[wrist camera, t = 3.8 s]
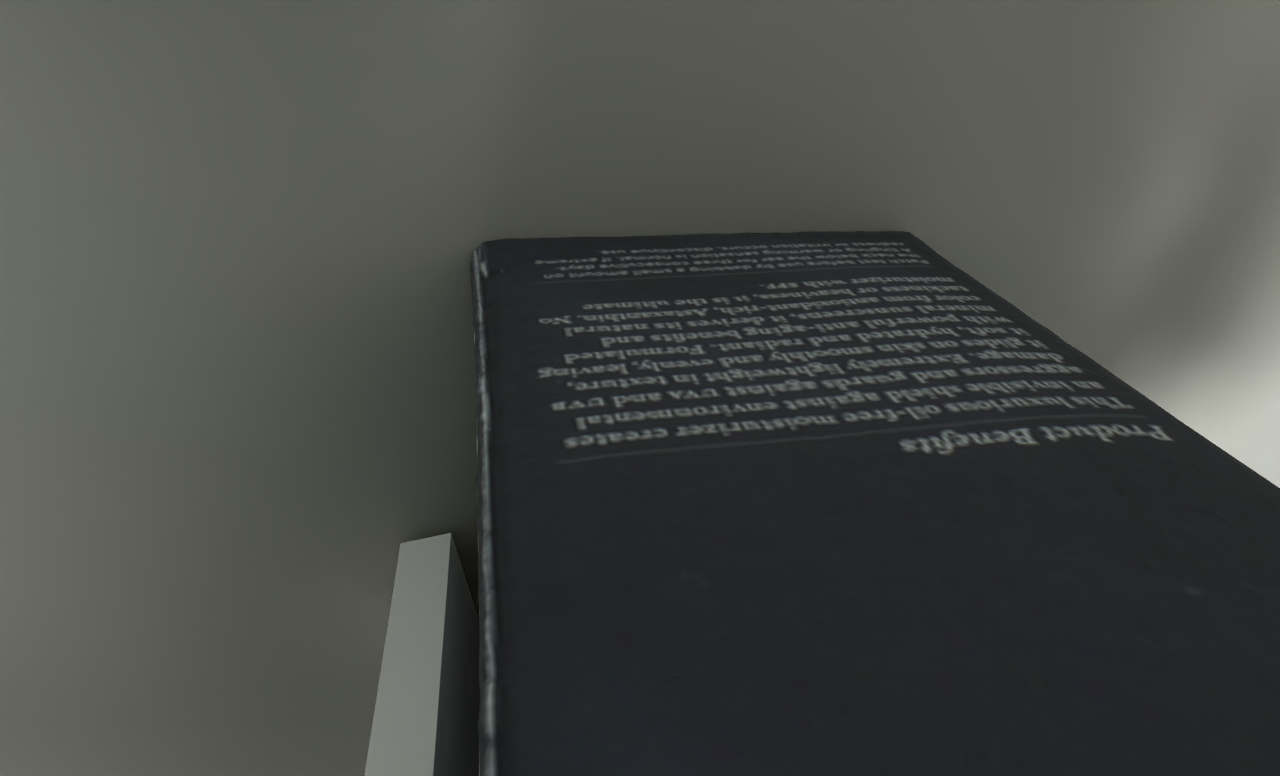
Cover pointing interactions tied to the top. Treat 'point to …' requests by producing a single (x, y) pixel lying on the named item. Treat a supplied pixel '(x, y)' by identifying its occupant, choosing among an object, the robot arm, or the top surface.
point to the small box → (845, 527)
